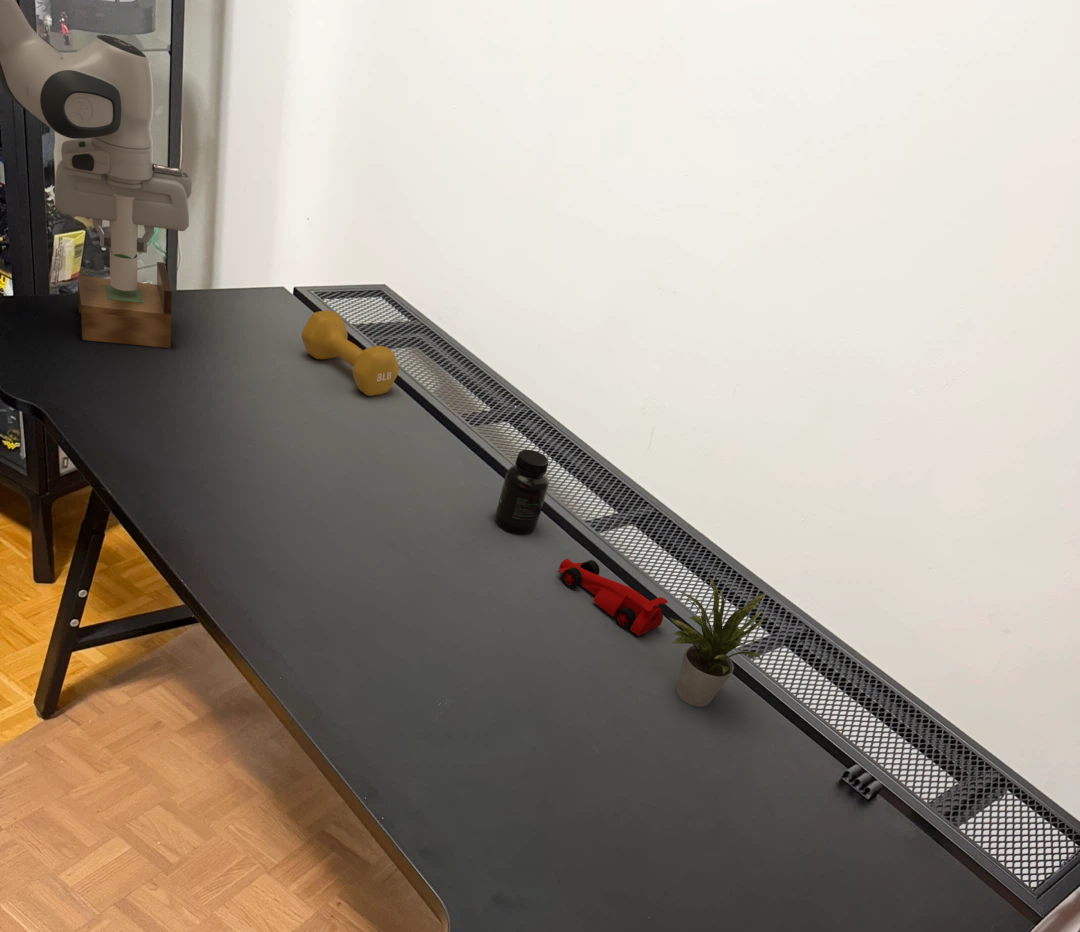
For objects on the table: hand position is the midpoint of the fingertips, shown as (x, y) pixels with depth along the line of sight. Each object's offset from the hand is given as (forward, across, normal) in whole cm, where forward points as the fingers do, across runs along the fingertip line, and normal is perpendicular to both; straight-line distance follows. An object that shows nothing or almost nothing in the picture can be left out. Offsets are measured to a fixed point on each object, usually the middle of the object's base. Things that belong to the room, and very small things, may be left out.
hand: (123, 248), depth 169 cm
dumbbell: (+14, -37, +10) cm, 41 cm away
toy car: (+14, -62, +78) cm, 101 cm away
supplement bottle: (+14, -54, +58) cm, 80 cm away
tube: (+6, 0, 0) cm, 6 cm away
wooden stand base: (+14, 0, 0) cm, 14 cm away
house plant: (+14, -67, +98) cm, 120 cm away
